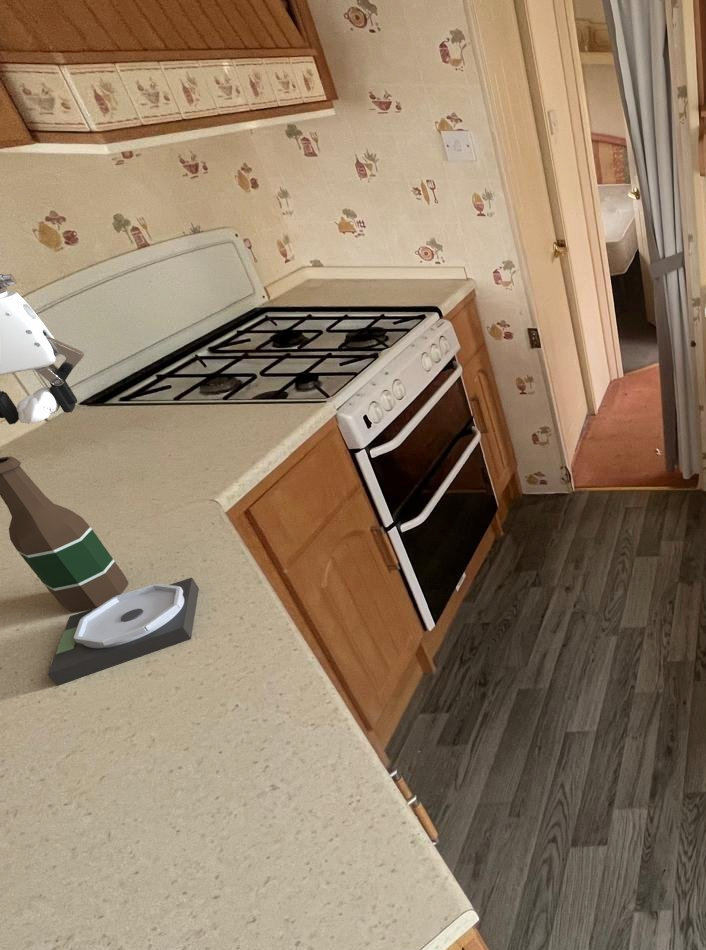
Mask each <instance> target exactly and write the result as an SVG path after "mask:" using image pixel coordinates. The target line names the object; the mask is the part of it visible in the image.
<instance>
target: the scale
mask: <svg viewBox="0 0 706 950" xmlns="http://www.w3.org/2000/svg"><path fill="white" fill-rule="evenodd" d="M199 590H200V587H199V586H198V585H197V583H196V581H195V579H194V578H193V577H189V578H185V579H182V580H180V581H175V582H173V583H170V584H163V583H152V584H149V585H146V586H143V587H140V588H137V589H134V590H130V591H126V592H124V593H121V594H120V595H117V596H116V597H113V598H111V599H110V600H108V601H107V602H105V603H104V604H102V605H101V606H99V607H97V608H93V609H88V610H84V611H81V612H77V613H76V614H72V615H69V616H68V619H67V622H66V625H65V627H64V630H63V632H62V635H61V637H60V640H59V643H58V645H57V647H56V650H55V653H54V655H53V658H52V661H51V663H50V666H49V668H48V671H47V673H46V674H47V676H48V677H49V678H50V680H51V681H52V682H53V683H54V684H55V686H61V685H64V684H66V683H69V682H72V681H74V680H77V679H80V678H83V677H86V676H89V675H91V674H95V673H98V672H100V671H103V670H106V669H108V668H112V667H115V666H118V665H120V664H123V663H125V662H129V661H132V660H135V659H138V658H141V657H143V656H146V655H149V654H151V652H152V653H154V651H155V652H158V651H160V650H162V649H166V648H168V646H169V647H172V646H174V645H177V644H180V643H183V642H186V641H189V640H191V639H192V635H193V628H194V622H195V616H196V610H197V603H198V597H199V596H198V595H199ZM148 653H149V654H148ZM145 654H146V655H145ZM142 655H143V656H142ZM134 658H135V659H134Z"/></svg>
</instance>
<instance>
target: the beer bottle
mask: <svg viewBox="0 0 706 950" xmlns="http://www.w3.org/2000/svg"><path fill="white" fill-rule="evenodd" d="M21 464H22V462H21V461H20V460H18V459H17V458H16V457H14V456H3V457H0V498H1V499H2V501H3V502H4V504H5V505H6V507H7V509H8V511H9V513H10V516H11V519H10V522H9V527H8V534H9V540H10V542H11V544H12V545H13V546H14V549H15V550H16V551H17V553H18V554H19V555H20V556H21V558H22V559H23V560H24V561H25V563H26V564H27V565H28V566H29V568H30V569H31V570H32V571H33V573H34V574H35V575H36V576H37V578H38V580H40V581H41V583H42V584H43V586H44V587H45V588H46V589H47V590H48V592H49V593H50V594H51V595H52V596H53V598H54V599H55V600H56V601H57V602H58V603H59V604H60V605H61V606H62V607H64V608H65V609H67V610H69V611H71V612H73V613H80V612H84V611H88V610H91V609H94V608H97V607H99V606H101V605H102V604H104V603H105V602H107V601H108V600H110V599H111V598H113V597H116V596H117V595H120V594H123V592H124V591H125V589H126V588H127V587H128V586H129V581H128V579H127V577H126V576H125V574H124V573H123V571H122V569H121V568H120V566H119V565H118V564H117V562H116V561H115V559H114V558H113V557H112V555H111V554H110V552H109V551H108V549H107V548H106V547H105V545H104V543H103V542H102V541H101V540H100V538H99V537H98V535H97V534H96V533H95V531H94V530H93V528H92V527H91V526H90V525H89V523H88V522H87V521H86V520H85V519H84V517H82V516H81V515H79V514H77V513H76V512H74V511H73V510H71V509H69V508H67V507H64V506H62V505H59V504H57V503H54V502H53V501H52V500H50V499H49V498H48V497H47V495H45V494H44V493H43V491H42V490H41V489H40V488H39V487H38V485H37V484H36V483H35V482H34V481H33V480H32V479H31V477H30V476H29V475H28V474H27V473H26V471H25V470H24V469H23V468H22V467H21Z"/></svg>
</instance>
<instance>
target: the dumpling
mask: <svg viewBox="0 0 706 950" xmlns="http://www.w3.org/2000/svg"><path fill="white" fill-rule="evenodd" d="M50 387H51V386H48V387H47V386H45V387H41V388H39V389H37V390H36V391H34V392H33V393H32V394H30V395H27V396H26V397H24V398H23V399H21V400H20V401H19V402H18V403H17V405H16V408H17V411H18V413H19V414H18V415H19V420H18V421H19V422H20V423H22V424H27V425H28V424H36V423H39V422H41V421H44V420H46V419H48V418H49V417H50V415H53V414H55V413H57V412H58V411H59V409H60V408H61V406H60V405H59V403H58V402H57V400H56V399H55V397H54V396H53V394H52V393H51V391H50Z"/></svg>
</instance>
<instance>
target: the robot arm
mask: <svg viewBox="0 0 706 950" xmlns="http://www.w3.org/2000/svg"><path fill="white" fill-rule="evenodd" d="M17 284H18V282H17V279H16V278H15V276H14V275H13V274H12V273H8V274H3V273H2V274H1V273H0V376H4V375H10V374H17V373H20V372H26V371H31V370H35V371H36V373H38V374H39V375H40V376H41V377H43V378H44V379H45V380H46V381H48V382H49V384H50V386H49V387H50V391H51V393H52V394H53V396H54V397H55V399H56V400H57V402H58V403H59V405H60V408H61V410H62V412H64V413H65V414H66V413H72V412H73V411H74V409H76V404H78V399H77V397H76V395H75V393H74V392H73V391H72V389H71V387H70V385H69V384H68V382H67V381H66V380H67V379H68V377H69V376H70V374H71V373H72V371H73V369H74V368H75V367H76V366H77V365H78V364H79V363H80V361H82V359H83V358H84V356H85V352H83V351H82V350H80V349H78V348H75V347H73V346H71V345H69V344H66V343H64V342H62V341H61V340H58V339H56V338H55V337H54V336H53V334H52V333H51V331H50V330H49V328H48V327H47V326H46V325H45V323H44V322H43V320H41V318H40V317H39V315H37V313H36V312H35V310H34V309H33V308H32V306H30V304H29V303H28V302H27V301H26V300H25V299H24V298H23V296H21V295H20V294H19V293H18V292H17V291H8V290H7V289H8V287H10V286H12V285H17ZM61 355H62V356H63V357H65V360H64V361H63V362H62V363H61V364H60V366H59V367H58V366H57V365H56V364H55V362H56V360H57V358H58V357H59V356H61ZM18 414H19V413H18V411H17V405H16V404H15V403H14V401H13V400H12V398H11V397H10V396H9V394H8V393H7V392H6V391H4V390H0V419H5V421H6V423H8V425H15V424H16V423H18V422H19V421H20V420H19V415H18Z"/></svg>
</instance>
